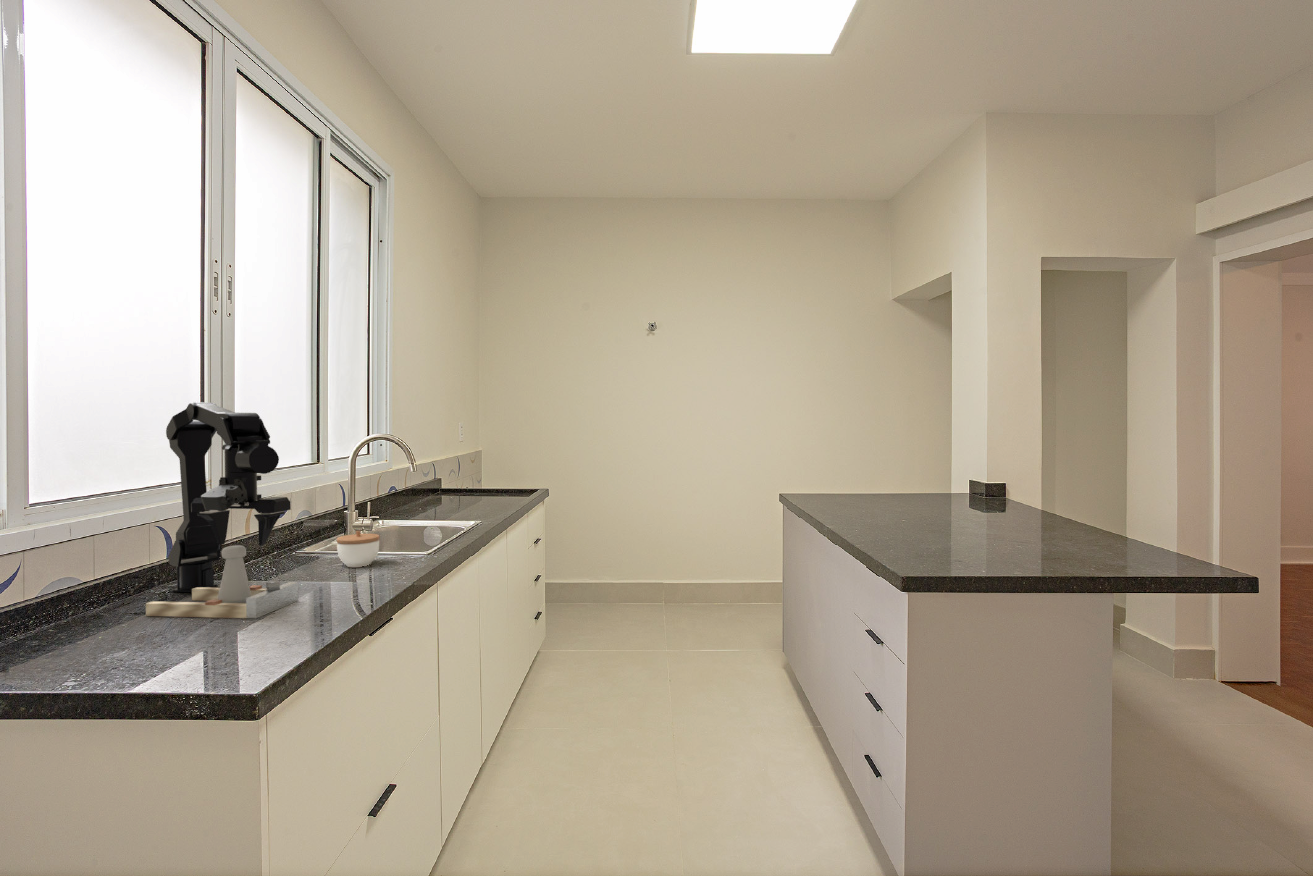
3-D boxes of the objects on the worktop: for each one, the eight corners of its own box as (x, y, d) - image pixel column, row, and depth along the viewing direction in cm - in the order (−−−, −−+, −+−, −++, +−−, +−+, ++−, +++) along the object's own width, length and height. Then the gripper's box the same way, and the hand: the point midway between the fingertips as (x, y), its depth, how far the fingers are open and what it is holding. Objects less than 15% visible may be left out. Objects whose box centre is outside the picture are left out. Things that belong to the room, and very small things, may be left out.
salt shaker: (234, 612, 131) (233, 549, 131) (211, 611, 132) (209, 548, 132) (257, 604, 137) (256, 544, 137) (234, 603, 138) (233, 543, 138)
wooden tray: (144, 616, 129) (144, 588, 129) (198, 598, 143) (197, 573, 142) (256, 618, 127) (255, 590, 127) (299, 600, 141) (299, 574, 140)
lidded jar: (337, 571, 169) (336, 535, 169) (336, 563, 178) (336, 529, 178) (381, 566, 174) (381, 532, 174) (378, 559, 183) (377, 526, 183)
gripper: (168, 474, 129) (169, 551, 130) (254, 475, 127) (255, 553, 128) (211, 470, 140) (212, 541, 141) (291, 471, 139) (292, 543, 139)
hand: (241, 545), depth 137 cm, fingers open, 9 cm apart
